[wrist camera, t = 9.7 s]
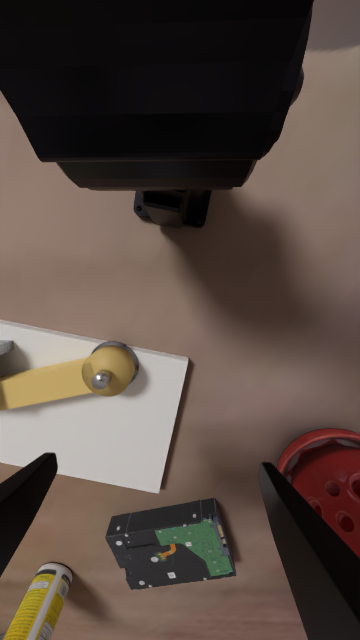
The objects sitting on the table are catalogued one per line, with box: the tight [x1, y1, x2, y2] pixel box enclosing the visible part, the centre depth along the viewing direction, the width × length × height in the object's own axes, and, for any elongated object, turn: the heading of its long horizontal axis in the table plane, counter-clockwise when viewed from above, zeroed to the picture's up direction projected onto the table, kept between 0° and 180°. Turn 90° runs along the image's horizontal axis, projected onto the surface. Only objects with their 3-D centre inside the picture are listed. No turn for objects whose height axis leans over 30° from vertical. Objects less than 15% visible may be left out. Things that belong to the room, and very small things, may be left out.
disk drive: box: [105, 498, 236, 590], centre depth 24 cm, size 10×3×15 cm
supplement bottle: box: [3, 563, 72, 640], centre depth 23 cm, size 5×5×10 cm
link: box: [0, 345, 135, 411], centre depth 18 cm, size 16×5×2 cm, turn 103°
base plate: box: [0, 320, 188, 494], centre depth 21 cm, size 18×26×1 cm
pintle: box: [91, 341, 139, 390], centre depth 17 cm, size 5×5×3 cm
